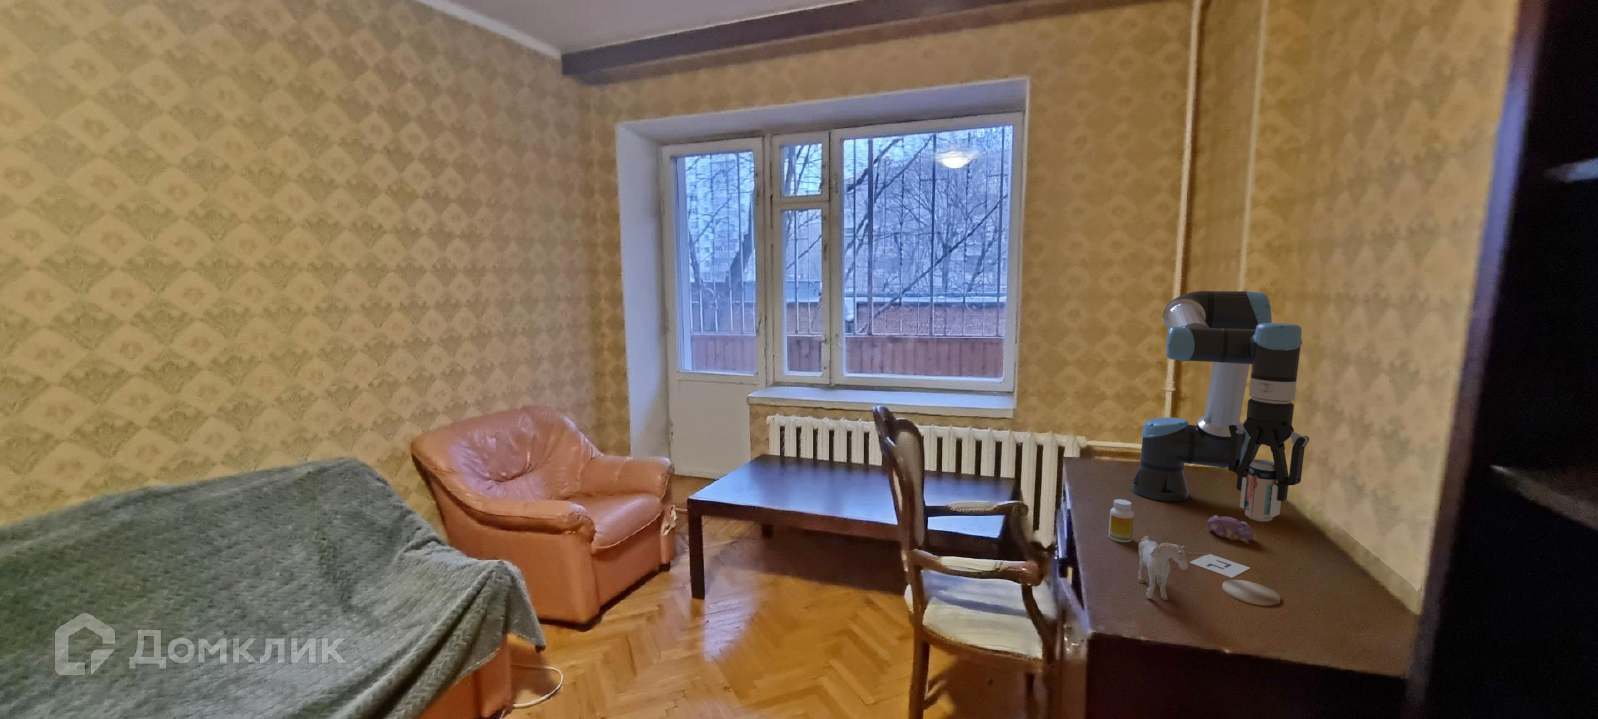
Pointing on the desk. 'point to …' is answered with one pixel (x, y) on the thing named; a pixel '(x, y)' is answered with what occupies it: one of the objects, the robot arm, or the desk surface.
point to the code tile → (1220, 565)
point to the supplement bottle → (1121, 521)
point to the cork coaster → (1251, 592)
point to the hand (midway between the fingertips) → (1259, 510)
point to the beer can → (1260, 490)
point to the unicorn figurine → (1160, 563)
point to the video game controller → (1230, 527)
